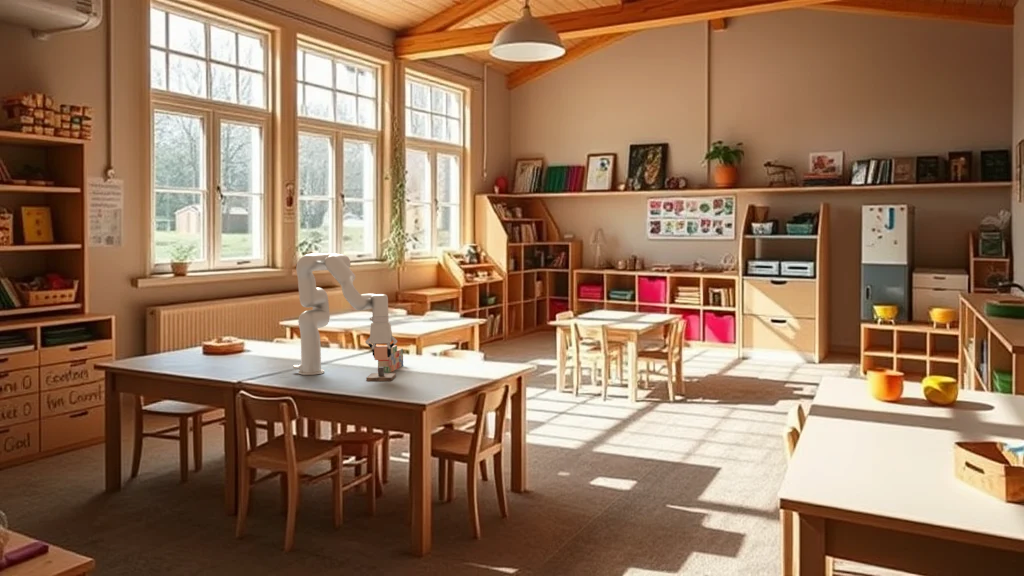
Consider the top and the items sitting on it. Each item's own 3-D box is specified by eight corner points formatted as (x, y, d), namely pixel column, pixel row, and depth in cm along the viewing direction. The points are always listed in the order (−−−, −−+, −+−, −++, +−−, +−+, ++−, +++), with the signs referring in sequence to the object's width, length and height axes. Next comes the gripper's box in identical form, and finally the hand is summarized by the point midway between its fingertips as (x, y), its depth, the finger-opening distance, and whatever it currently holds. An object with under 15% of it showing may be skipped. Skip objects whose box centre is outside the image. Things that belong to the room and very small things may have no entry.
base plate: (366, 380, 391) (366, 369, 391) (371, 376, 403) (371, 365, 403) (391, 380, 391) (391, 369, 390) (395, 376, 403) (395, 365, 402)
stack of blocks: (392, 365, 435) (391, 342, 434) (403, 365, 434) (403, 342, 433) (377, 372, 414) (377, 348, 413) (389, 372, 413) (389, 348, 412)
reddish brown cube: (374, 360, 393) (374, 347, 393) (377, 358, 399) (376, 345, 399) (387, 359, 393) (386, 347, 392) (389, 357, 399) (388, 345, 398)
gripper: (361, 321, 391) (362, 358, 393) (397, 320, 391) (398, 358, 392) (364, 319, 399) (365, 356, 400) (399, 318, 398) (401, 355, 399)
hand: (381, 356), depth 396 cm, fingers closed on reddish brown cube, 6 cm apart
